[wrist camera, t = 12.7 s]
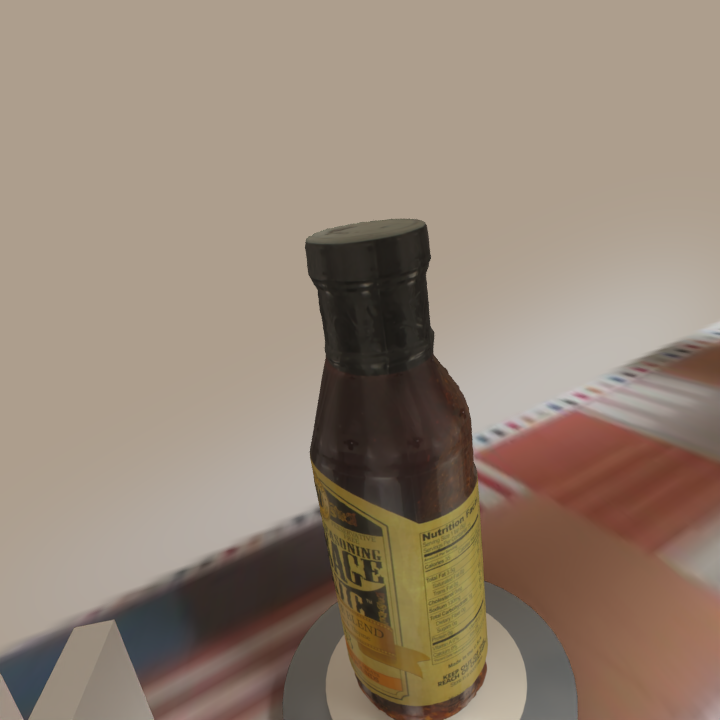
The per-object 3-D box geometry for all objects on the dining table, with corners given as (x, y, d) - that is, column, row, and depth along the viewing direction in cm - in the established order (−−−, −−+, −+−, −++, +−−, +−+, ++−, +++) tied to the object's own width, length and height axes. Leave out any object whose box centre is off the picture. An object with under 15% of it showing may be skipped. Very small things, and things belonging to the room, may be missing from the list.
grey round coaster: (511, 569, 31) (509, 549, 31) (645, 819, 19) (647, 793, 19) (290, 613, 31) (285, 594, 30) (283, 901, 18) (275, 876, 18)
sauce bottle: (338, 642, 27) (253, 236, 20) (452, 599, 28) (407, 209, 22) (382, 770, 21) (281, 251, 14) (525, 708, 22) (491, 212, 16)
